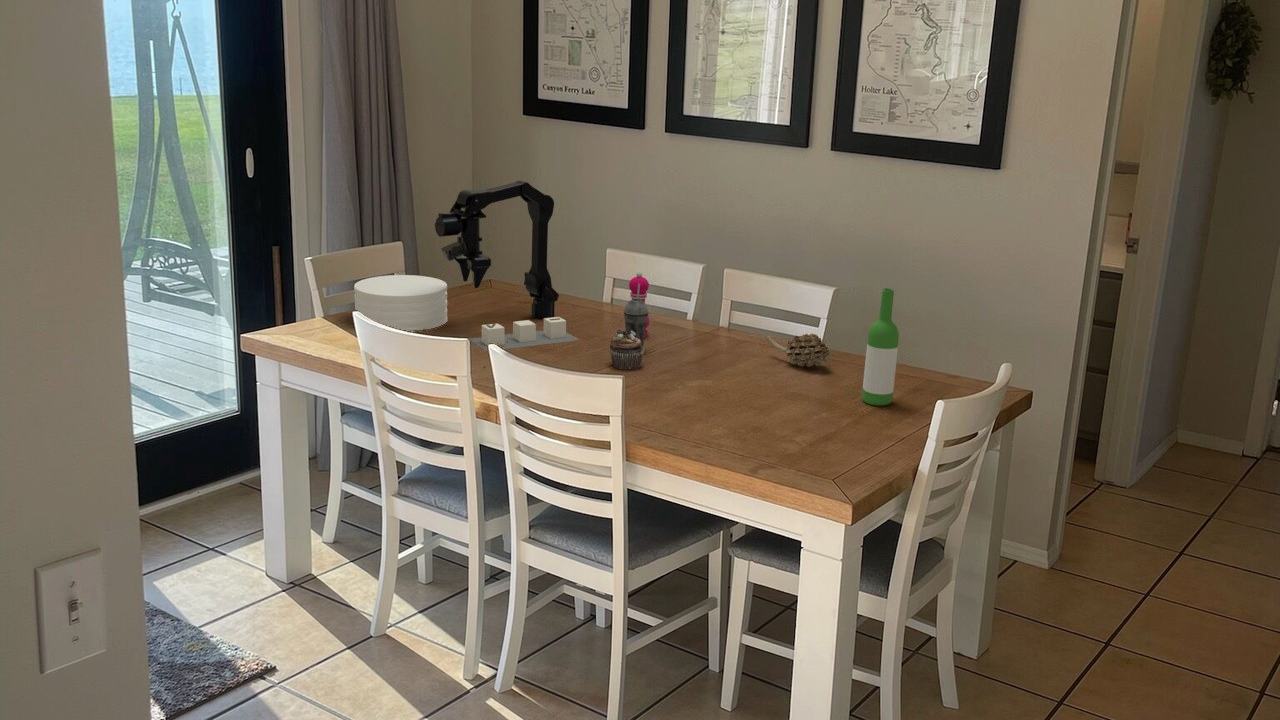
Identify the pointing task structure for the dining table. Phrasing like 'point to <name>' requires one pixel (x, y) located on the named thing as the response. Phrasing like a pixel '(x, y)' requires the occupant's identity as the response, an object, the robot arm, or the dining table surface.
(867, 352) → the wine bottle
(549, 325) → the block one
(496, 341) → the block seven
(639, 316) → the beverage cup
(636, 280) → the pepper mill
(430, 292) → the plate stack
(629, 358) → the cupcake
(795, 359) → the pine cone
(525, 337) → the plain block
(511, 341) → the mat
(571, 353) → the dining table surface
